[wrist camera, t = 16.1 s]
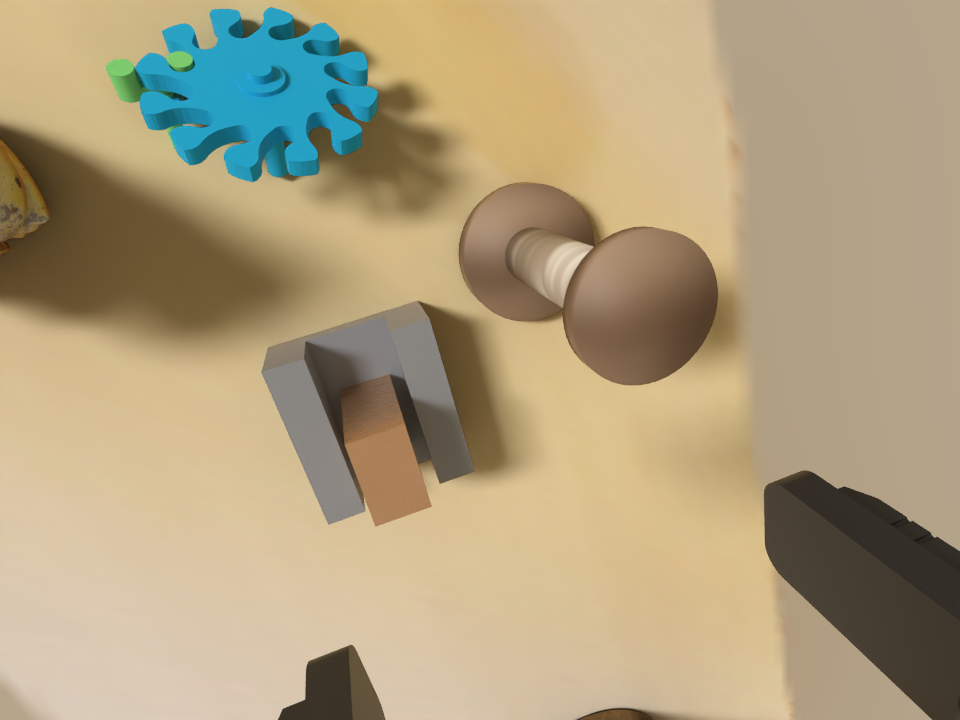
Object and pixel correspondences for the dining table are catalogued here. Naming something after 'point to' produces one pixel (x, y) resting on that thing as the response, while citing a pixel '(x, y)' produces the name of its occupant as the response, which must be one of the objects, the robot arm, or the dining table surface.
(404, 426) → the copper tab
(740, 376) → the dining table surface
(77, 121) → the dining table surface
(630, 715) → the wooden container
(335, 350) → the grooved channel block
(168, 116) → the gear
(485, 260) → the bobbin
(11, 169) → the decorative figurine
